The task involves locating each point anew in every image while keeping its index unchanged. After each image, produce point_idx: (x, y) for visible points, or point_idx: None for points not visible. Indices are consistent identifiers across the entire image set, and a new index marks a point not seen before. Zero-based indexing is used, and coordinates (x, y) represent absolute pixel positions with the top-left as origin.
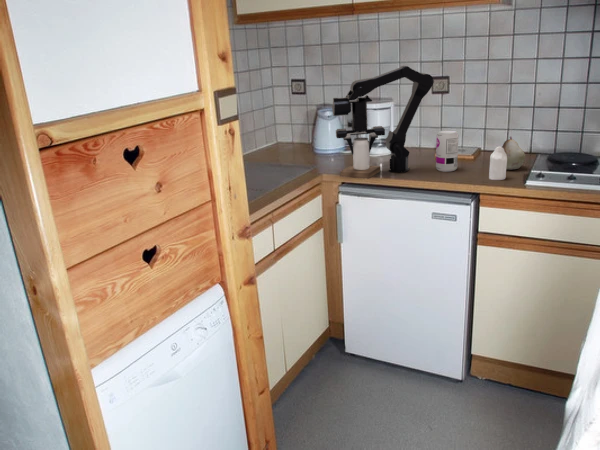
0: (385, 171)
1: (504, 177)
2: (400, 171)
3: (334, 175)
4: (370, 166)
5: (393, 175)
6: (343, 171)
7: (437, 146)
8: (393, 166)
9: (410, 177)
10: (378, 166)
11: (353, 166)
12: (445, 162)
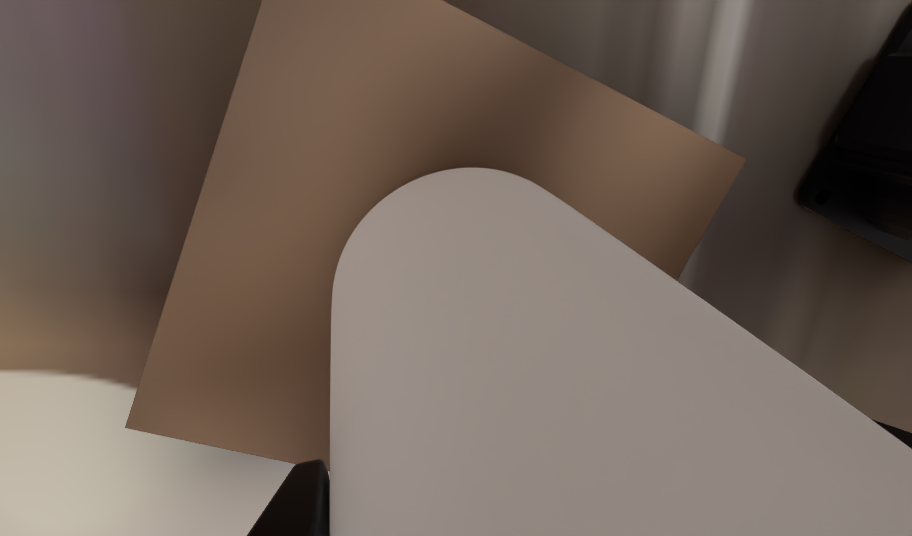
0: (756, 164)
1: None
2: (902, 257)
3: (32, 338)
4: (606, 149)
5: (786, 355)
6: (181, 439)
7: None
8: (899, 207)
9: (899, 426)
10: (720, 164)
11: (313, 111)
12: None
